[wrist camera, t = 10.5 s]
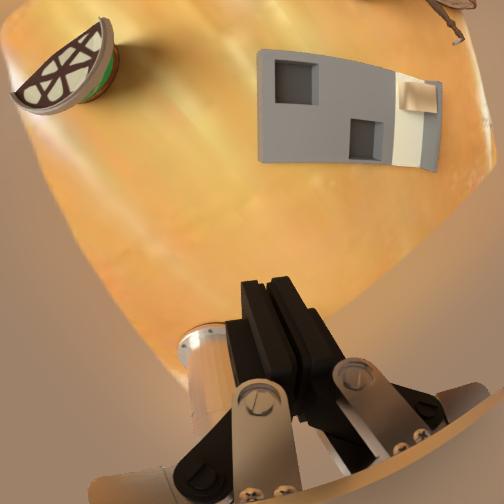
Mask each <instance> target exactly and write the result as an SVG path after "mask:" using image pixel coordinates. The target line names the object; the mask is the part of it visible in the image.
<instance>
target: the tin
mask: <svg viewBox="0 0 504 504" xmlns="http://www.w3.org/2000/svg"><path fill="white" fill-rule="evenodd" d="M436 1H437V2H439V3H441V4H443V5H445V6H447V7H451V8H454V9H461V10H462V9H475V8H476V0H436Z"/></svg>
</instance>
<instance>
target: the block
mask: <svg viewBox="0 0 504 504" xmlns="http://www.w3.org/2000/svg"><path fill="white" fill-rule="evenodd" d="M397 85H398V98H399V109H404V110H414V111H423V112H431V113H437V103H436V88H435V86H434V85H429V84H424V83H419V82H397Z"/></svg>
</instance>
